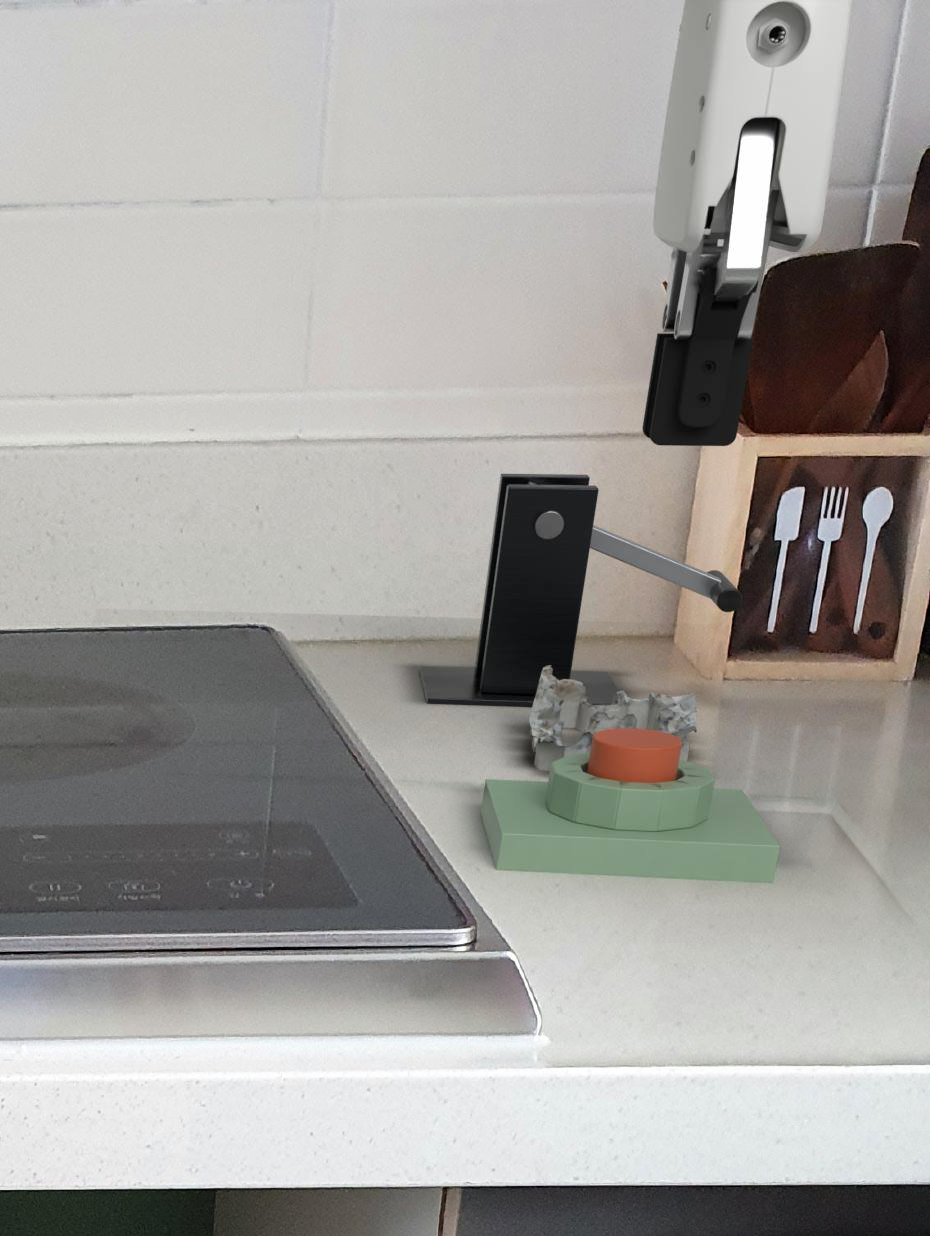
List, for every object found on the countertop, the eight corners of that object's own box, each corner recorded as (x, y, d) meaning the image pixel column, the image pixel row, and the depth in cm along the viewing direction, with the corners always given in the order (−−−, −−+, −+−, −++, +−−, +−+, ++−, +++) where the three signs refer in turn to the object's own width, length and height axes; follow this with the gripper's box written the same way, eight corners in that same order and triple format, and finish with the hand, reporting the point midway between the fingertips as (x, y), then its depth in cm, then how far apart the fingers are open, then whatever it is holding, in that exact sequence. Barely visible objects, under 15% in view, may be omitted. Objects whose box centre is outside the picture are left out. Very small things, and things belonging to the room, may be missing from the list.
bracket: (604, 693, 126) (640, 471, 121) (623, 727, 119) (661, 493, 114) (417, 687, 128) (444, 468, 123) (425, 720, 121) (453, 490, 116)
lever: (710, 606, 122) (735, 564, 120) (727, 627, 117) (753, 583, 116) (503, 519, 122) (525, 476, 121) (511, 536, 117) (535, 491, 116)
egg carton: (527, 741, 117) (539, 661, 115) (684, 752, 114) (699, 670, 113) (516, 793, 108) (528, 706, 106) (686, 805, 105) (702, 717, 104)
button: (668, 769, 99) (675, 729, 99) (681, 790, 96) (688, 749, 95) (582, 765, 100) (588, 726, 99) (591, 787, 97) (598, 746, 96)
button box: (735, 826, 102) (749, 749, 101) (772, 885, 94) (789, 803, 93) (480, 815, 105) (490, 740, 103) (496, 872, 97) (507, 791, 95)
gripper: (937, -103, 76) (826, 469, 84) (839, -70, 90) (751, 420, 98) (699, -94, 78) (613, 466, 86) (638, -63, 91) (568, 418, 100)
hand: (687, 438), depth 92 cm, fingers closed
